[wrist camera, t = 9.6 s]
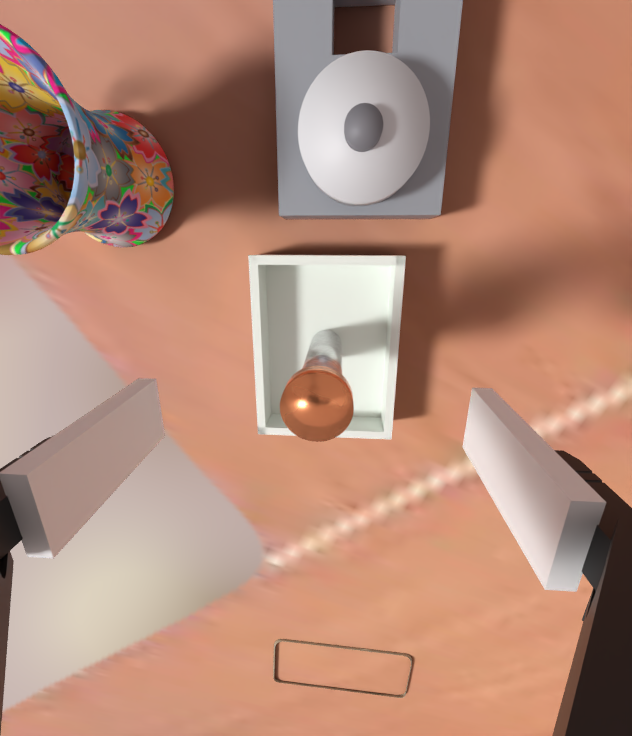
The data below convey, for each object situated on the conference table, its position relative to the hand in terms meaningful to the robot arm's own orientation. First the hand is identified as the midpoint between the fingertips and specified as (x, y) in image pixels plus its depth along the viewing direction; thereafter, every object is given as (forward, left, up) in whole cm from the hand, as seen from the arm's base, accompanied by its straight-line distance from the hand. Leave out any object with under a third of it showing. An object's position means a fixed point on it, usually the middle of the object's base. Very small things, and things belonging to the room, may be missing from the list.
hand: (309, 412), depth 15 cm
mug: (-12, -16, -14) cm, 24 cm away
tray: (0, 0, -14) cm, 14 cm away
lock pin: (0, 0, -13) cm, 13 cm away
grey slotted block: (-16, +2, -14) cm, 21 cm away
